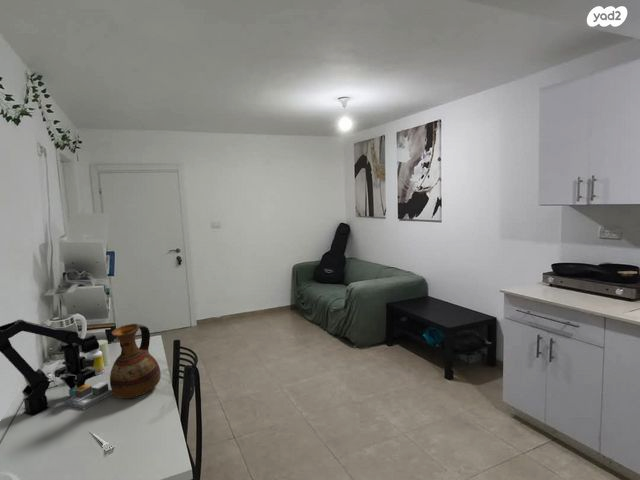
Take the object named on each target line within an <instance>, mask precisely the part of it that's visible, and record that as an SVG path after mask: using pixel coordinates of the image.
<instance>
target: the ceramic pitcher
mask: <svg viewBox="0 0 640 480" xmlns="http://www.w3.org/2000/svg"><path fill="white" fill-rule="evenodd" d="M138 330H140V333H141V334H140V335H141V341H140V346H139V347H138V345H137V343H136V334H137V332H138ZM111 335H112V336H114V337H115V338H117V339H118V341H119V346H120V349H121V351H120V354H119V356H117V358H116V359H115V361H114V362H113V365H112V367H111V369H110V374H109V385H110V388H111V389H110V390H112V391H113V394H114V395H115V396H116V397H117V398H121V399H129V398H135V397H138V396H141V395H145V394H146V393H147V392H149V391H150V390H152V389H154V388H155V387H156V386H157V385H158V384H159V383H160V380H161V379H162V378H161V377H162V375H161V373H162V371H161V368H160V366H159V363H158V361H157V360H156V358H155V357H154V356H153V355H152V354H151V352H150V351H149V347H150V342H151V341H150V340H151V333H150V329H149V327H147V325H144V324H138V323H130V324H124V325H121V326H120V327H117V328H115V329H114V330H112V331H111Z"/></svg>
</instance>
